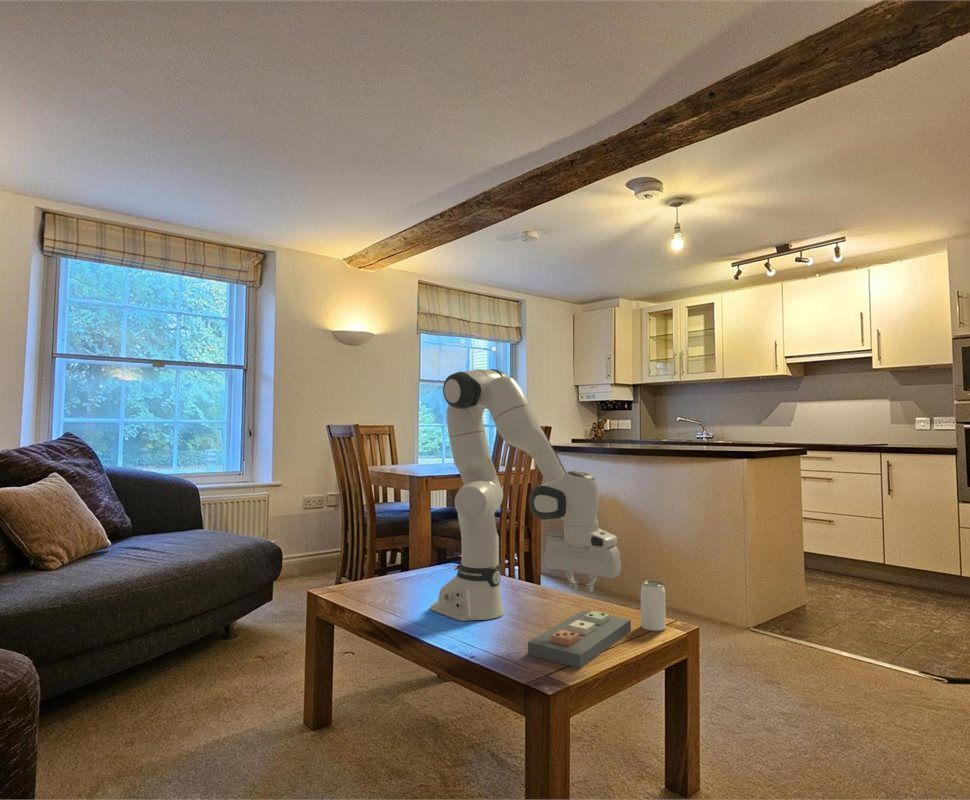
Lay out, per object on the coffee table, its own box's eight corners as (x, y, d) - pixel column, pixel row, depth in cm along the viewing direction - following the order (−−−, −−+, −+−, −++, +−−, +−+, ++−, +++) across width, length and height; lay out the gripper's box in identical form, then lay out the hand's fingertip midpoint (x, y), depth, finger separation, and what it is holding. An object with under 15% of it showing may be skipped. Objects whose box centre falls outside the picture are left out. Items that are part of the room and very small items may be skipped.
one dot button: (568, 637, 149) (568, 624, 149) (577, 631, 153) (577, 618, 153) (586, 641, 146) (586, 628, 146) (595, 635, 150) (595, 622, 150)
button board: (527, 654, 142) (527, 641, 142) (583, 621, 166) (583, 610, 166) (580, 668, 133) (580, 655, 134) (630, 631, 158) (630, 619, 158)
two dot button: (584, 627, 156) (584, 614, 157) (592, 622, 160) (592, 610, 161) (601, 630, 154) (601, 618, 154) (609, 625, 158) (609, 613, 158)
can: (646, 622, 165) (646, 578, 165) (669, 627, 161) (668, 582, 161) (636, 628, 160) (636, 583, 160) (659, 633, 156) (659, 587, 156)
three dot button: (551, 647, 142) (551, 634, 142) (561, 641, 146) (561, 628, 146) (569, 652, 139) (569, 638, 139) (579, 646, 143) (579, 632, 143)
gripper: (539, 532, 154) (540, 586, 154) (613, 541, 142) (613, 599, 142) (551, 529, 159) (551, 581, 159) (623, 537, 148) (623, 593, 147)
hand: (581, 590), depth 150 cm, fingers open, 3 cm apart
